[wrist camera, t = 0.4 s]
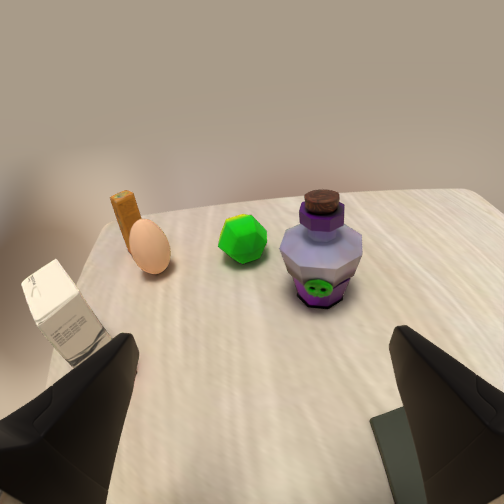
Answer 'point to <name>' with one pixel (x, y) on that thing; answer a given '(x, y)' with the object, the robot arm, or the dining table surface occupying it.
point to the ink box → (63, 314)
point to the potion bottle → (321, 250)
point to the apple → (243, 238)
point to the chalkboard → (399, 456)
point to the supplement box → (125, 212)
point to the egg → (149, 246)
